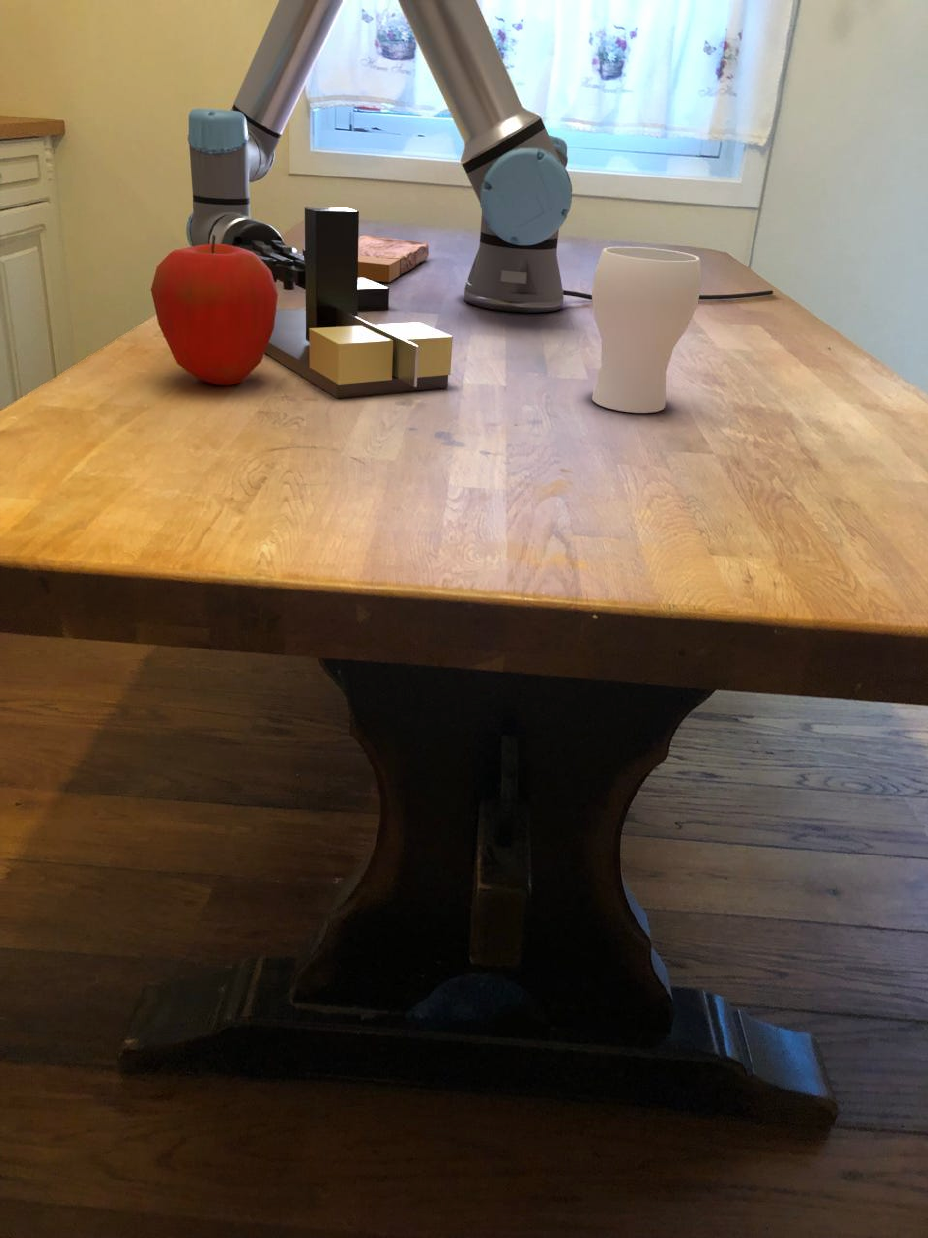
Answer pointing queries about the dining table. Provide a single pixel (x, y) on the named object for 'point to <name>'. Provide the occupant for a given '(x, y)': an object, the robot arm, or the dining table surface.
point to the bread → (388, 257)
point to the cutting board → (295, 355)
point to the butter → (375, 352)
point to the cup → (641, 322)
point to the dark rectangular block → (372, 296)
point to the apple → (215, 310)
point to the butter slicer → (342, 282)
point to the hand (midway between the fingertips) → (323, 282)
